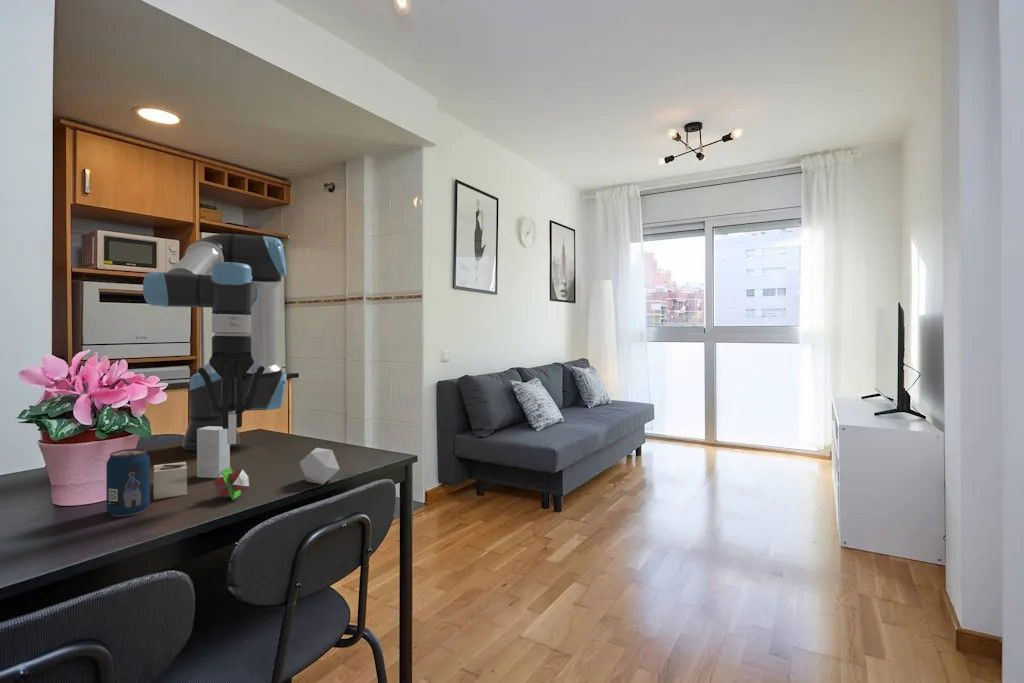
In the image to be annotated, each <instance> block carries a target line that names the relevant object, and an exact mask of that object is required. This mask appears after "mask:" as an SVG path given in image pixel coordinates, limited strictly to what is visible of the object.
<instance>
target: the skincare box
mask: <svg viewBox="0 0 1024 683" xmlns="http://www.w3.org/2000/svg"><path fill="white" fill-rule="evenodd" d="M230 466H231V448H230V445H228V443H227V429H223V428H222V427H218V426H207V427H203V428H199V429H197V451H196V477H197V478H205V479H206V478H207V479H215V478H216V479H217V478H220V477H222V473H221V471H223V470H225V469H227V468H229V467H230ZM219 473H221V475H220V474H219ZM218 474H219V475H220V476H219V475H218Z"/></svg>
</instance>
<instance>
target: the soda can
mask: <svg viewBox="0 0 1024 683" xmlns="http://www.w3.org/2000/svg"><path fill="white" fill-rule="evenodd" d="M150 464H151V460H150V456H149V454H148V453H147V449H144V448H128V449H120V450H116V451H112V452H111V453H110V455H109V458H108V459H107V461H106V465H105V466H106V469H105V470H106V472H105V474H106V479H105V480H106V482H105V483H106V484H105V485H106V511H107V512H108V513H109V514H110V515H111V516H113V517H118V518H120V517H129V516H130V517H131V516H135V515H138V514H140V513H143V512H144V511H146V509H147V508H148V506H149V505H150V503H151V472H150V471H151V465H150Z"/></svg>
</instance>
